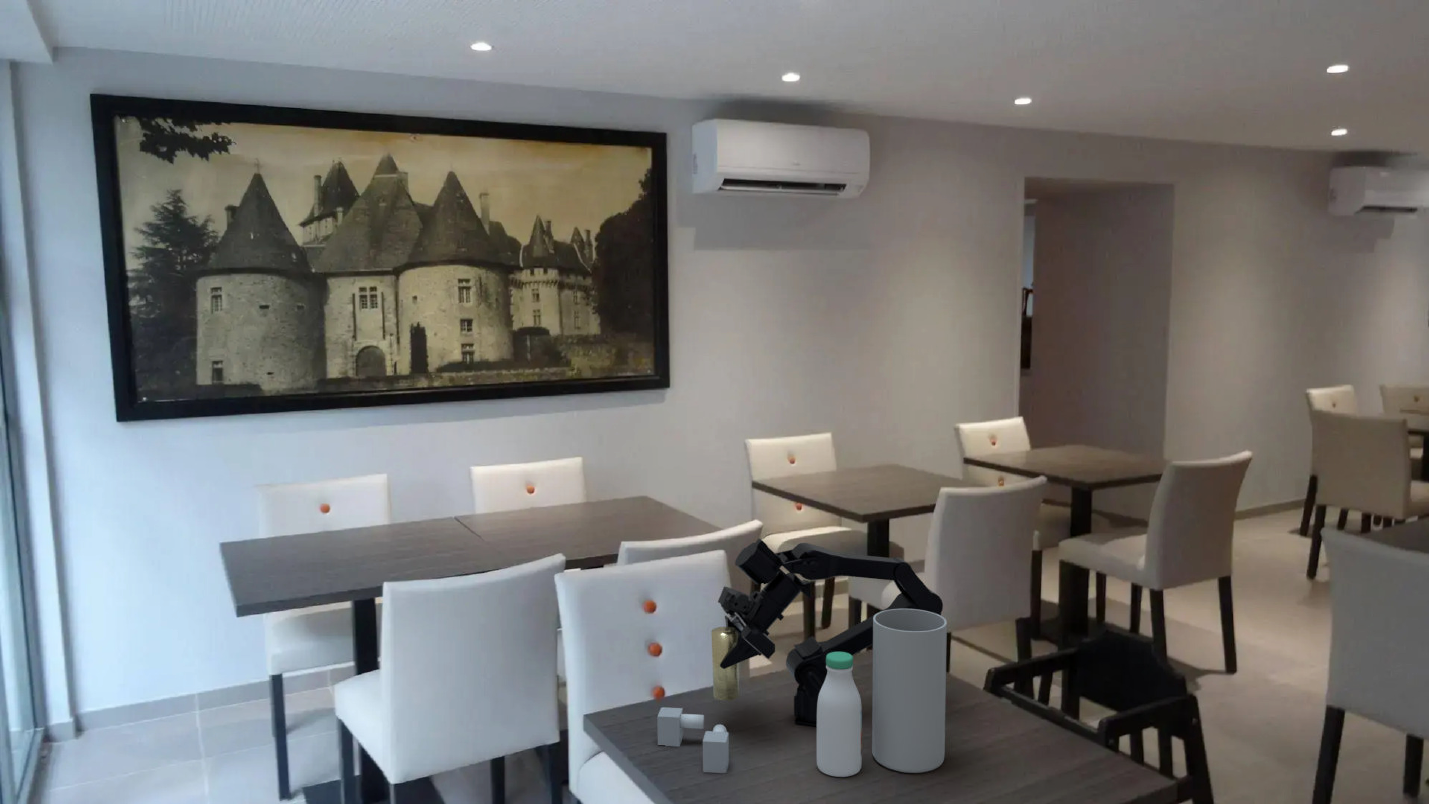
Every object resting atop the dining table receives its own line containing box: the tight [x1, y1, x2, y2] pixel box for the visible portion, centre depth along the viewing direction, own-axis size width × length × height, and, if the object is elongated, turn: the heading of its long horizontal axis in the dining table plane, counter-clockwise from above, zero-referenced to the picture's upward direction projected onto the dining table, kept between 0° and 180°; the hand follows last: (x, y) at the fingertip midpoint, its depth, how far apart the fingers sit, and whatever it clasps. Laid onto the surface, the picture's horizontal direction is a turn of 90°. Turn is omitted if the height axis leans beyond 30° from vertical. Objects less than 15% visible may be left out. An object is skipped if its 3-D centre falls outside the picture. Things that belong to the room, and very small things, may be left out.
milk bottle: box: [816, 652, 863, 778], centre depth 167 cm, size 8×8×20 cm
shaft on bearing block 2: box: [702, 724, 730, 774], centre depth 170 cm, size 8×4×6 cm, turn 173°
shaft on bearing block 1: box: [656, 707, 705, 748], centre depth 178 cm, size 8×4×6 cm, turn 83°
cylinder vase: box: [871, 609, 948, 774], centre depth 170 cm, size 12×12×25 cm
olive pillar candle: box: [710, 626, 740, 702], centre depth 183 cm, size 5×5×12 cm
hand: (718, 662), depth 182 cm, fingers closed on olive pillar candle, 5 cm apart
